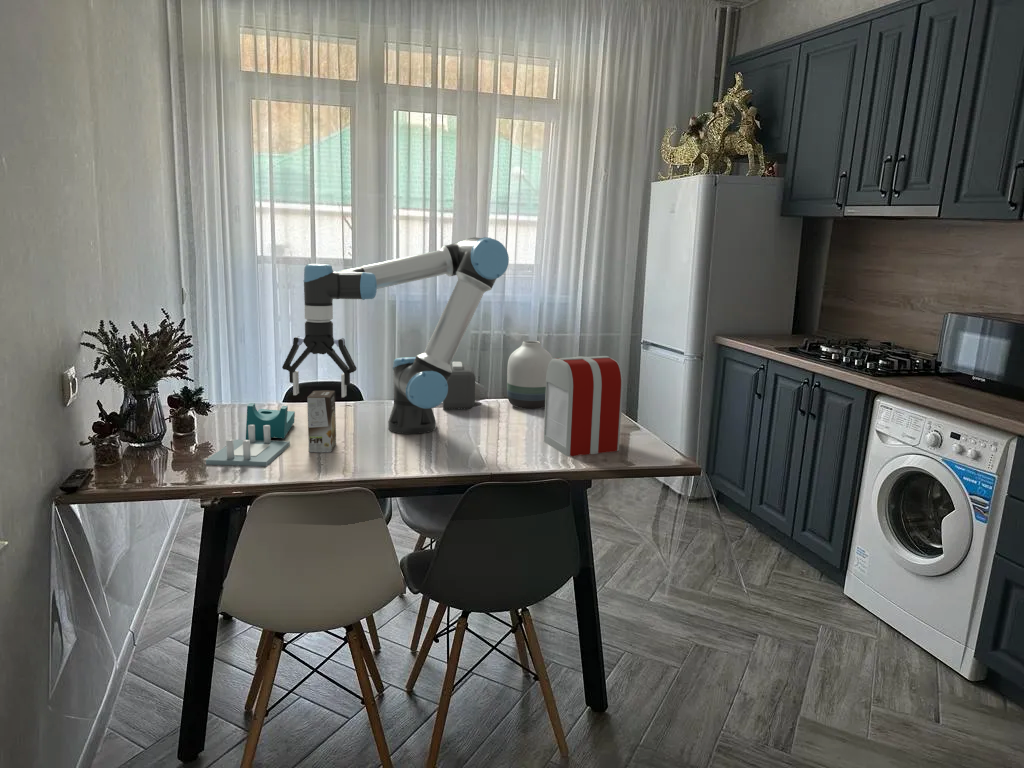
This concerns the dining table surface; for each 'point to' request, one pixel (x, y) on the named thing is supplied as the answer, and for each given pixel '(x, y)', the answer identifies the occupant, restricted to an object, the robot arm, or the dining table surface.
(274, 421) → the teal cradle block
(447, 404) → the alarm clock
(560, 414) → the red white rounded block
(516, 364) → the vase
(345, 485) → the dining table surface
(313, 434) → the coffee box
